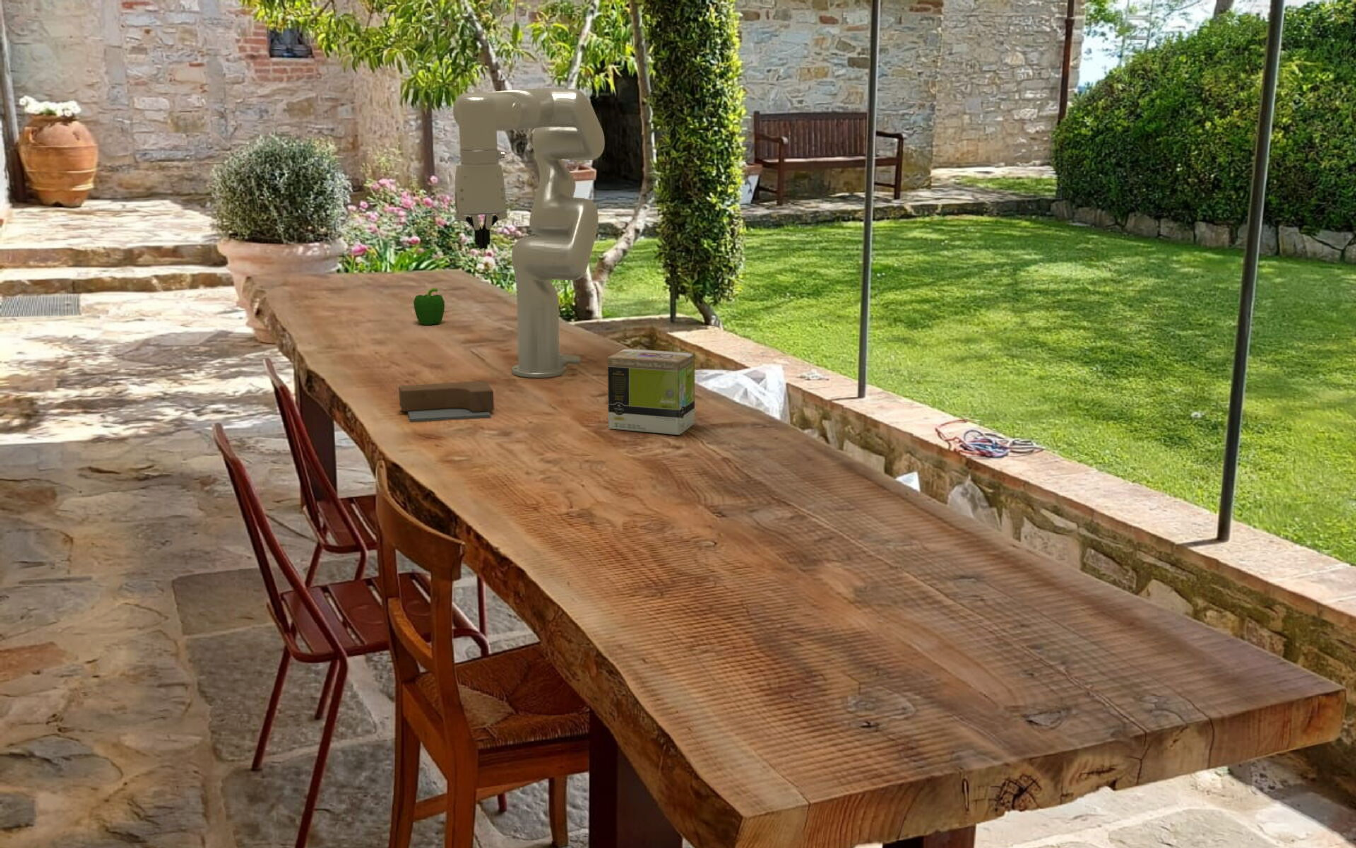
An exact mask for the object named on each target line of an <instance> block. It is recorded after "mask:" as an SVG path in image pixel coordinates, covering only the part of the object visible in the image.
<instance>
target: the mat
mask: <svg viewBox="0 0 1356 848" xmlns="http://www.w3.org/2000/svg"><path fill="white" fill-rule="evenodd" d="M407 415H408V419H409V422H410V423H413V422H414V423H416V422H415V421H418V422H433V420H436V421H448V420H447V419H455V420H467V419H468V420H470V419H486V418H489V419H490V418H492V414H491V411H486V412H472V411H470V410H469V409H462V408H449V409H433V410H418V411H407Z"/></svg>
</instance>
